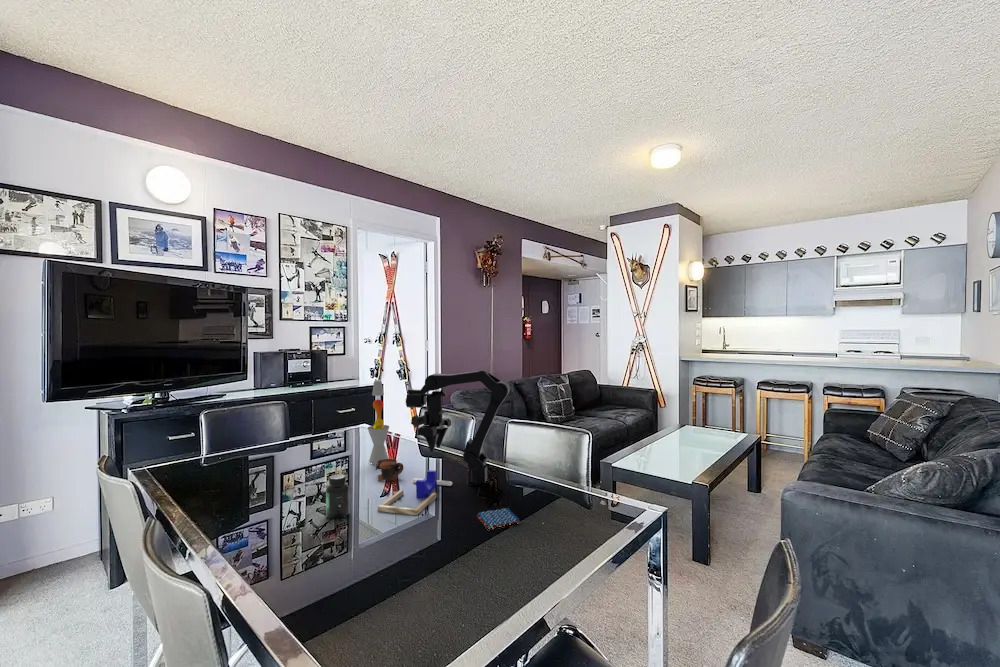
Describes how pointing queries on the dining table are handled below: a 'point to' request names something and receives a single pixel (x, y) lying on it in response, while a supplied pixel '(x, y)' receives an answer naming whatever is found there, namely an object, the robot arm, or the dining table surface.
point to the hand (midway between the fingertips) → (435, 449)
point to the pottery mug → (389, 469)
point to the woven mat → (497, 518)
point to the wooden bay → (402, 510)
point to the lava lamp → (378, 427)
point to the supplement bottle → (337, 497)
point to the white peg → (439, 482)
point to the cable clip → (426, 484)
